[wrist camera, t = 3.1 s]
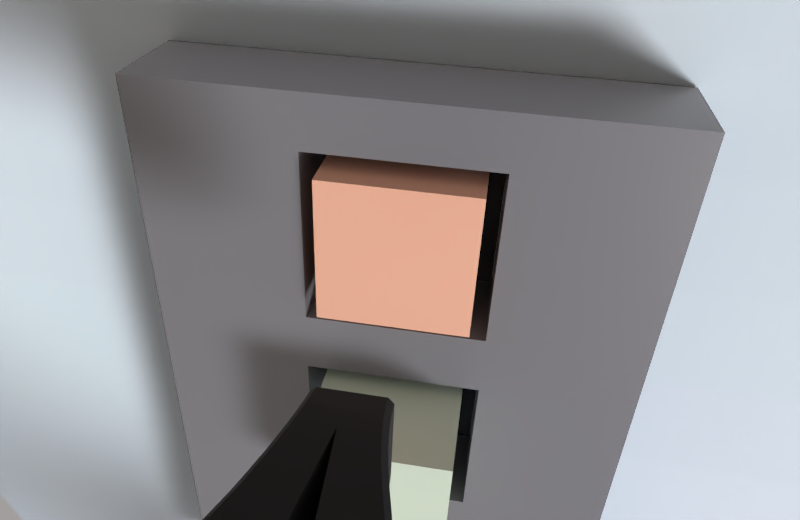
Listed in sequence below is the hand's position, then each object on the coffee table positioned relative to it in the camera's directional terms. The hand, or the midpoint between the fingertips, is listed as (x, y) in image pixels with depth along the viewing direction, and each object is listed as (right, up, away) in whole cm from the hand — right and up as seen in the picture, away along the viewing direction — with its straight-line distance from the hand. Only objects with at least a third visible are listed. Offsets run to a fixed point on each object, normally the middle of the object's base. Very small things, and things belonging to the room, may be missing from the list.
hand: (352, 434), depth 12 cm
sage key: (+1, -2, +7) cm, 8 cm away
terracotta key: (+1, +4, +6) cm, 7 cm away
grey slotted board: (+1, -1, +9) cm, 9 cm away
